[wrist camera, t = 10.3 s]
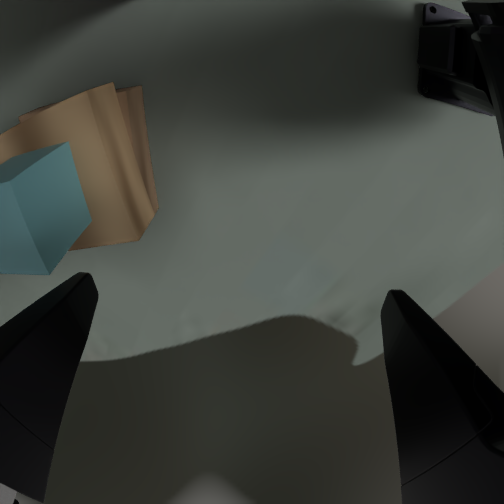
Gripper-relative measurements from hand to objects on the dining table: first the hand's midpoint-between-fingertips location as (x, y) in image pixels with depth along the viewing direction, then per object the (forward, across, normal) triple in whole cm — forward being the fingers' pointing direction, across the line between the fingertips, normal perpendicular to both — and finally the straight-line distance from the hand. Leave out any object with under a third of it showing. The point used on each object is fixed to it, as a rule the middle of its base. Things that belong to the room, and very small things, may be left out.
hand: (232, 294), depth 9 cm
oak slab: (+11, +12, 0) cm, 16 cm away
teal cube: (+8, +12, 0) cm, 14 cm away
